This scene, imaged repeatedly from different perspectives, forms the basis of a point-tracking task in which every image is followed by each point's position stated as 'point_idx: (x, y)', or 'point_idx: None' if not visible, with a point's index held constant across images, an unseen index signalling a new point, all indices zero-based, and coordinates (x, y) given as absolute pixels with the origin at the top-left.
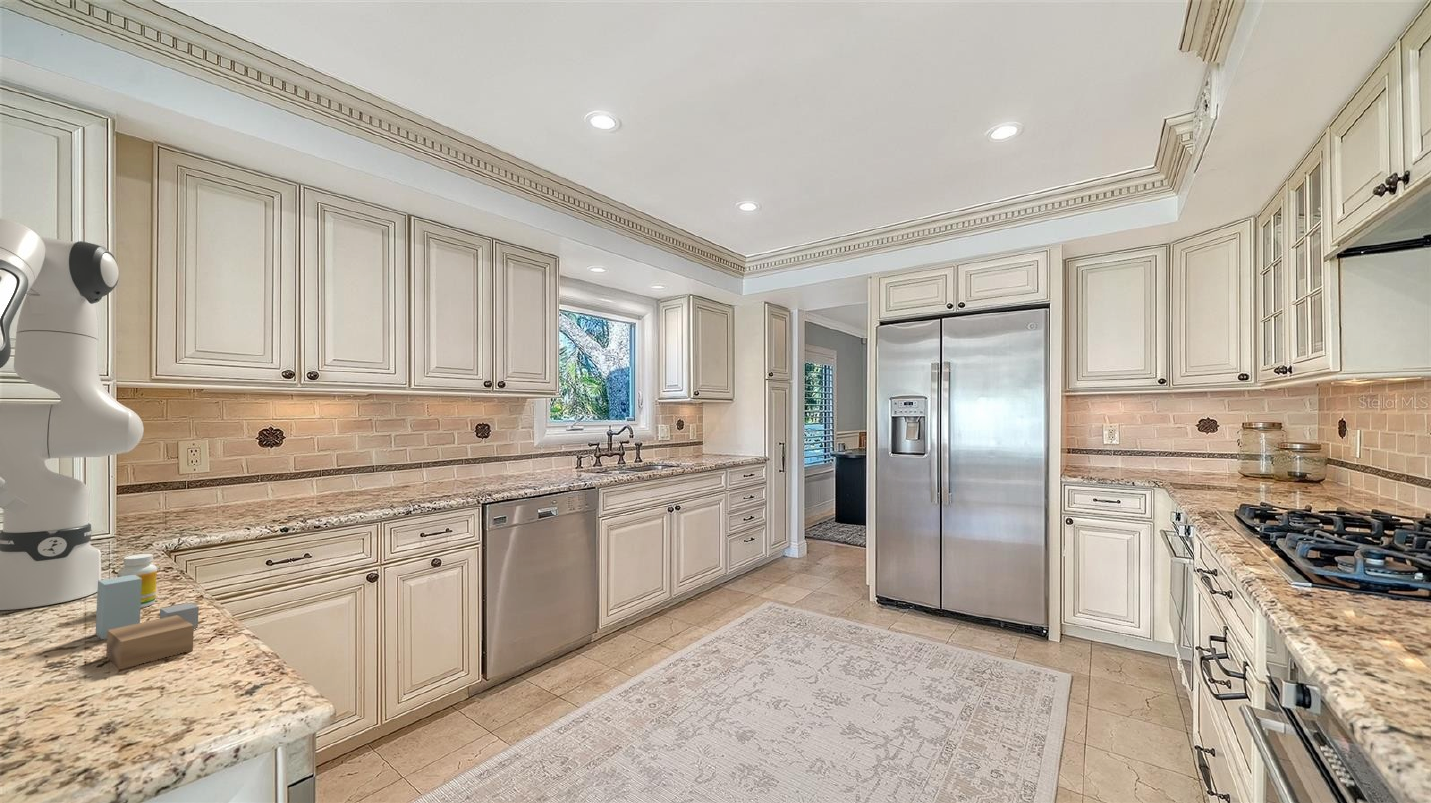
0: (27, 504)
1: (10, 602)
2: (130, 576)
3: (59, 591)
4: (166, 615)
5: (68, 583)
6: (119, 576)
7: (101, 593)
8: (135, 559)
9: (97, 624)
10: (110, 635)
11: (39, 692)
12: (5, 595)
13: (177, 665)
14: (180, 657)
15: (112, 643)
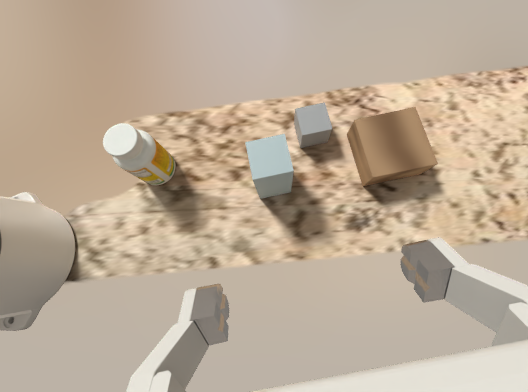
0: (440, 238)
1: (52, 285)
2: (256, 146)
3: (58, 238)
4: (328, 131)
5: (46, 229)
6: (142, 169)
7: (277, 179)
8: (137, 142)
9: (266, 194)
10: (386, 175)
11: (446, 228)
12: (36, 292)
13: (441, 134)
14: None
15: (394, 175)
